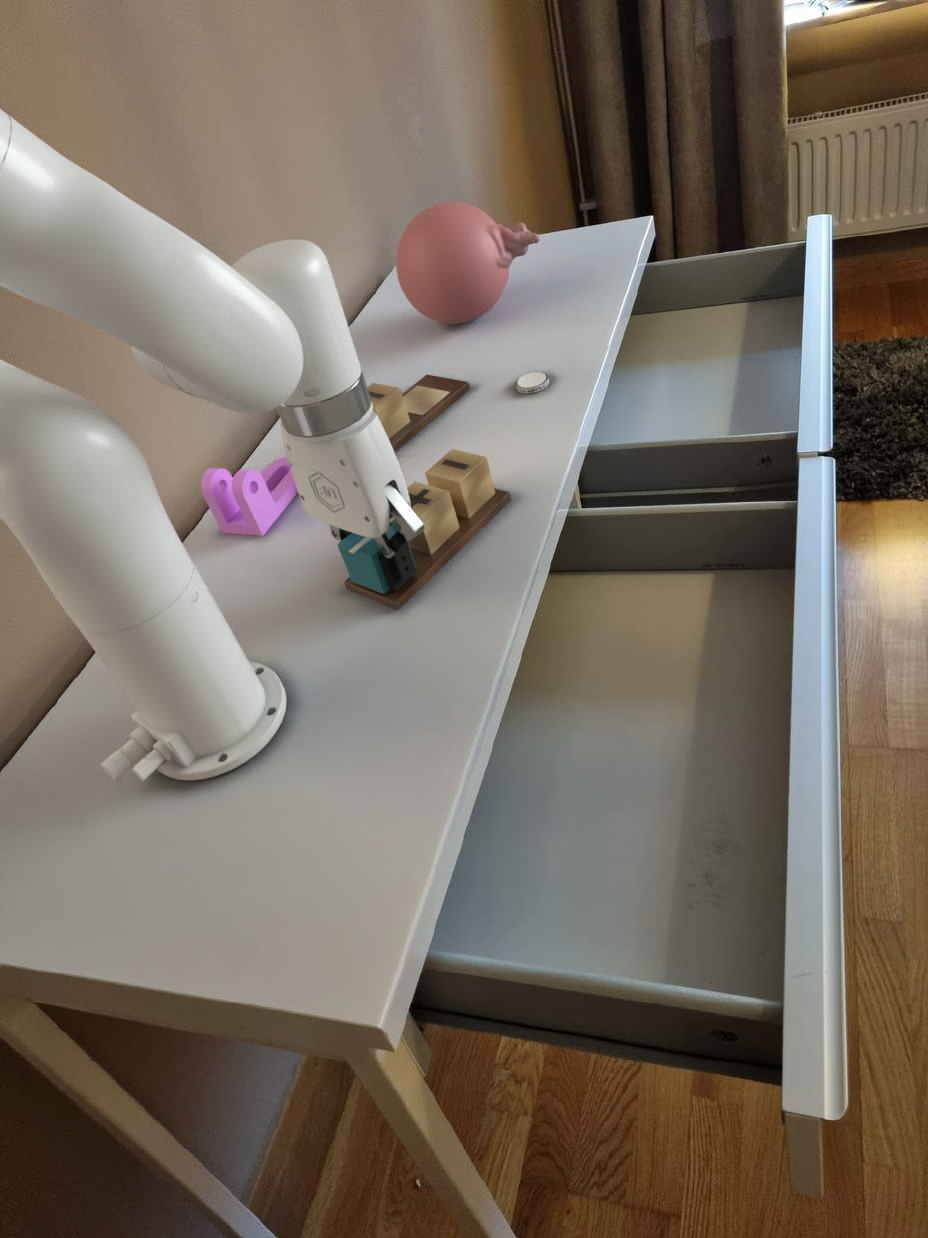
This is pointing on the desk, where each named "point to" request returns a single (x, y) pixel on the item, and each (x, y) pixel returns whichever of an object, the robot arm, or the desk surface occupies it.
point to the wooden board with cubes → (444, 519)
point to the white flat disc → (532, 382)
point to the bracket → (248, 497)
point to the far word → (413, 405)
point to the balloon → (457, 261)
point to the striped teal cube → (365, 561)
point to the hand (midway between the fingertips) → (383, 572)
